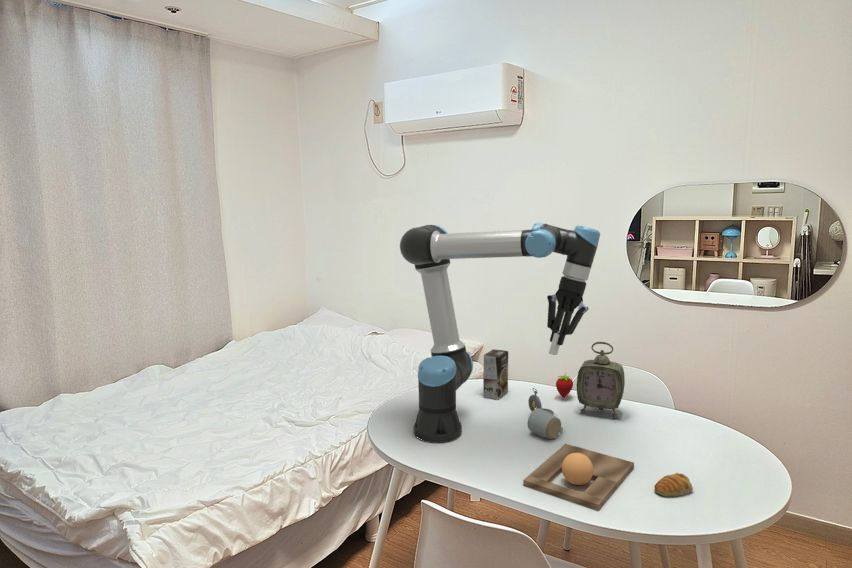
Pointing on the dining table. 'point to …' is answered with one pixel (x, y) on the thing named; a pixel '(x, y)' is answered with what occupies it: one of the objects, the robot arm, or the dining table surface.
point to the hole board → (604, 475)
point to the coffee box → (495, 374)
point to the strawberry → (564, 385)
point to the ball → (577, 468)
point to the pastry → (673, 485)
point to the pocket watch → (537, 403)
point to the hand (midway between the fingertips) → (552, 353)
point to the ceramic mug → (544, 424)
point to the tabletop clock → (600, 382)
